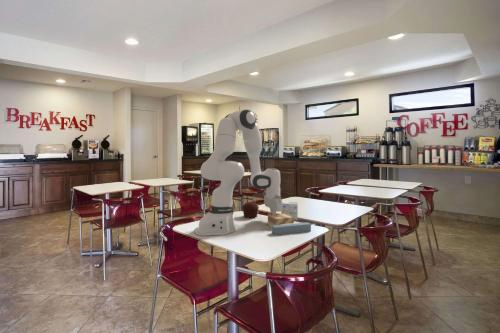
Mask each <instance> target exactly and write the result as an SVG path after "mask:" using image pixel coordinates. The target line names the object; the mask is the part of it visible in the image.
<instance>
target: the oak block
mask: <svg viewBox="0 0 500 333" xmlns="http://www.w3.org/2000/svg"><path fill="white" fill-rule="evenodd" d="M292 223H295V220H294V217H292V216H290V215H287V214H281V213H277V214H275V215H271V214H267V225H268V226H270V227H271V228H272V226H274V225H281V224H292Z"/></svg>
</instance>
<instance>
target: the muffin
mask: <svg viewBox="0 0 500 333" xmlns="http://www.w3.org/2000/svg"><path fill="white" fill-rule="evenodd" d="M241 208H242V213H243V217H244V218H245V219H256V218H255V217H257V218H258V213H259V212H258V211H259V208H260V207H259V206H258V204H257V203H256V202H254V201H247V202H245V203H244V204H243V205H242V206H241Z"/></svg>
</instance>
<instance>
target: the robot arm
mask: <svg viewBox="0 0 500 333" xmlns="http://www.w3.org/2000/svg"><path fill="white" fill-rule="evenodd" d="M237 131H241V133H242V141H243V144H244V149H245V152H246V154H247V157H248V160H249V165H250V167H249V168H250V177H249V183H250V186H252V187H253V188H255V189H257V190H263V189H264V190H265V189H266V190H265V191H263V197H264V199H263V203H264V206H265V207H267V208H268V209H269V210H270V215H276V213H278V212H280V213H281V211H282V210H283V205H282V202H283V200H282V198H281V172H280V170H279V169H277V168H272V167H268V168H266V169H265V170H264V171H262V170H261V168H262V167H261V162H260V161H261V160H260V154H261V152H262V149H263V140H262V135H261V132H260V129H259V126H258V123H257V118H256V115H255V112H253V111H252V110H251V109H243V110H237V111H234V112H232V113H228V114H227V115H225V116H224V117H223V118H221V119H220V120H219V123H218V125H217V130H216V137H215V143H214V148H213V151H212V153H211V155H210V156H209V158H207V159H206V160H205V161H204V162H203V163H202V165H201V167H200V175H201V177H203V178H204V179H206V180H209V181H220V185H219V186H218V187H216V188H215V189H214V190H213V191H212V194H211V195H212V205H209V204H208V205H207V206H206V209H207V210H208V212H207V213H206V214H205V215H203V217H201V218H200V219H199V222H198V227H195V228H194V234H196V235H198V236H200V237H202V236H203V237H204V236H223V235H224V236H225V235H230V234H231V233H234V232H235V231H236V228H235V224H234V222H235V221H234V216H233V215H234V205H233V194H234V193H233V192H234V189H235V187H236V185H237V184H238V183H239V182H240V180H242V178H243V177H244V176H245V167H244V165H243V164H242V162H237V161H234V160H226V158H228V156H230V155H232V154H233V153H234V152H235V149H236V148H235V147H236V138H237Z"/></svg>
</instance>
